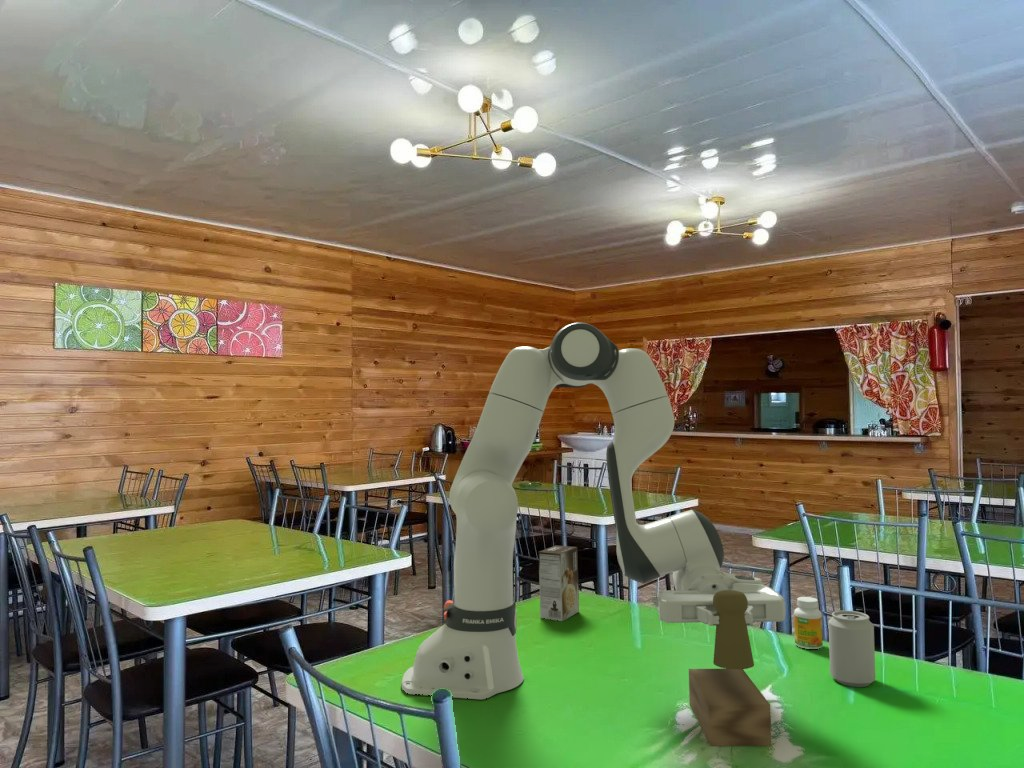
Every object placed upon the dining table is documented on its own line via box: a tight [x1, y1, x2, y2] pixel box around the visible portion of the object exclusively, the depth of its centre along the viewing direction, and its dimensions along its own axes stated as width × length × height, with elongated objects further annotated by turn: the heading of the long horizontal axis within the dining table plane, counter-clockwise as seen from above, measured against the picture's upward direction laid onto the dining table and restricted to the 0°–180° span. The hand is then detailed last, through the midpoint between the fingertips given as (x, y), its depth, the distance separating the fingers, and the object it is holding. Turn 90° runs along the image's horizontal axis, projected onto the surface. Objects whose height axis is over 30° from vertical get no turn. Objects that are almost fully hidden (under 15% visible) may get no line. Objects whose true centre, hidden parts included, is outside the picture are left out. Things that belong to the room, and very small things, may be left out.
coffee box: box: [538, 545, 580, 622], centre depth 178 cm, size 9×6×16 cm
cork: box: [712, 590, 755, 670], centre depth 113 cm, size 6×6×11 cm
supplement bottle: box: [793, 596, 824, 650], centre depth 152 cm, size 5×5×10 cm
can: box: [827, 610, 876, 688], centre depth 133 cm, size 8×8×12 cm
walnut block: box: [688, 668, 772, 747], centre depth 116 cm, size 9×15×6 cm, turn 178°
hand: (731, 620), depth 113 cm, fingers closed on cork, 4 cm apart
